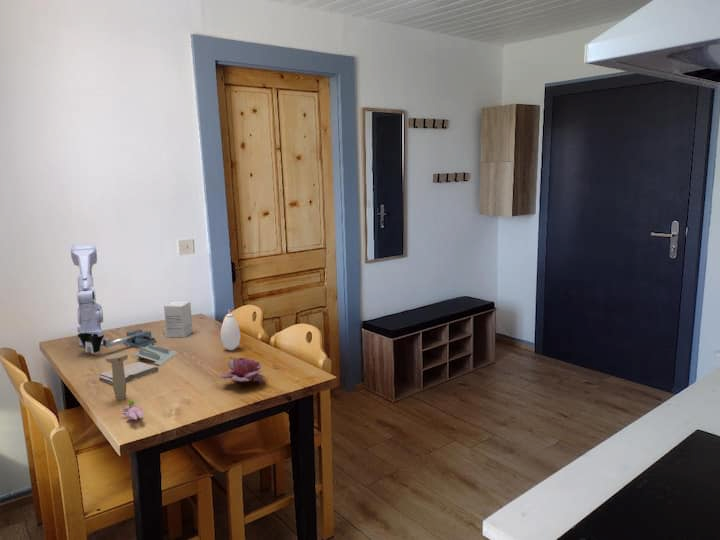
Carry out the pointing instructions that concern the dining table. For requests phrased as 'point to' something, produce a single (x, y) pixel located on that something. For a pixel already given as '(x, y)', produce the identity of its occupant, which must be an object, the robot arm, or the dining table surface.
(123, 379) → the handle
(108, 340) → the vise
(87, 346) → the notched block
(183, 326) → the supplement box
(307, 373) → the dining table surface
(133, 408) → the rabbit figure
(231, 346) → the sauce bottle
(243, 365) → the flower
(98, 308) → the robot arm
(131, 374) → the washcloth
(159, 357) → the metal bracket
